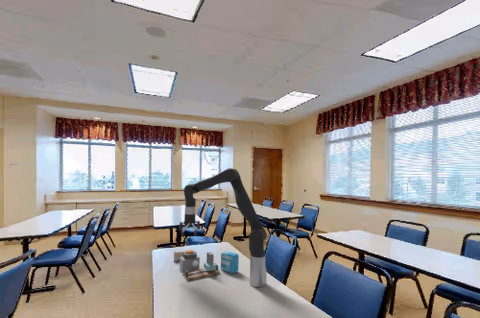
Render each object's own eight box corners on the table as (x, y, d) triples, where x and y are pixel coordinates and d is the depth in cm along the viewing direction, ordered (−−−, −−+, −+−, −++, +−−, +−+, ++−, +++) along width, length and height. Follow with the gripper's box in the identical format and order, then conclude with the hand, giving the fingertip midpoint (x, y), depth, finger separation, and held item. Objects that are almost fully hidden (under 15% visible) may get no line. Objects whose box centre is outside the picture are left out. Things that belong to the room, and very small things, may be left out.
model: (188, 261, 179) (188, 250, 179) (174, 263, 175) (174, 252, 175) (187, 259, 182) (188, 249, 182) (173, 261, 178) (174, 251, 178)
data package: (220, 270, 162) (220, 252, 163) (224, 267, 166) (224, 250, 167) (234, 274, 156) (235, 255, 157) (238, 271, 160) (238, 254, 160)
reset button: (191, 252, 167) (191, 249, 167) (193, 254, 163) (193, 250, 164) (186, 253, 165) (186, 250, 165) (188, 255, 162) (188, 251, 162)
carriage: (211, 265, 163) (212, 251, 163) (216, 269, 157) (216, 254, 157) (203, 267, 159) (204, 252, 160) (207, 271, 153) (208, 255, 154)
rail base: (213, 268, 165) (213, 261, 165) (219, 273, 156) (219, 266, 156) (182, 275, 153) (183, 268, 154) (187, 281, 145) (187, 273, 145)
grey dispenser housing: (195, 265, 170) (195, 249, 171) (199, 269, 163) (200, 253, 164) (179, 268, 164) (179, 252, 165) (182, 272, 157) (183, 256, 157)
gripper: (198, 211, 169) (197, 234, 168) (178, 212, 162) (177, 236, 161) (201, 213, 163) (200, 236, 162) (181, 214, 156) (180, 239, 155)
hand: (189, 236), depth 162 cm, fingers open, 8 cm apart
